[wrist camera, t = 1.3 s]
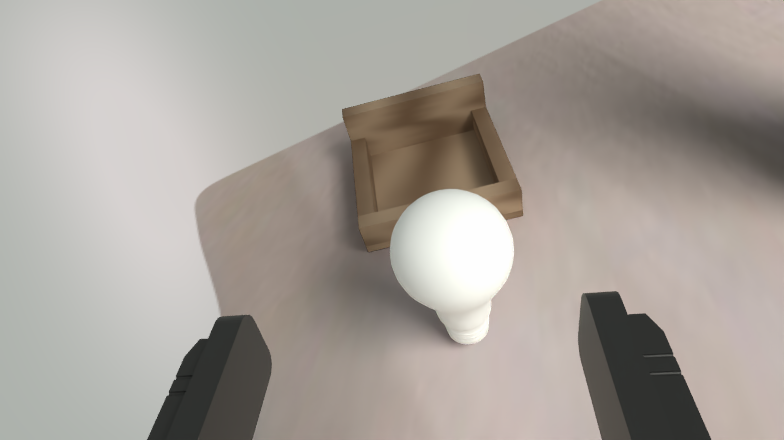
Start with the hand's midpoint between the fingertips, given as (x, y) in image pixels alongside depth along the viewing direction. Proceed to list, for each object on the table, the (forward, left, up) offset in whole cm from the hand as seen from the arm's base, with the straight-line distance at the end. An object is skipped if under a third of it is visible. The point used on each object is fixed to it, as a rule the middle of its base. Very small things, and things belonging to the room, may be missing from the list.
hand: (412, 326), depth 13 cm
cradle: (-2, -24, -17) cm, 29 cm away
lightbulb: (-2, -10, -17) cm, 20 cm away
